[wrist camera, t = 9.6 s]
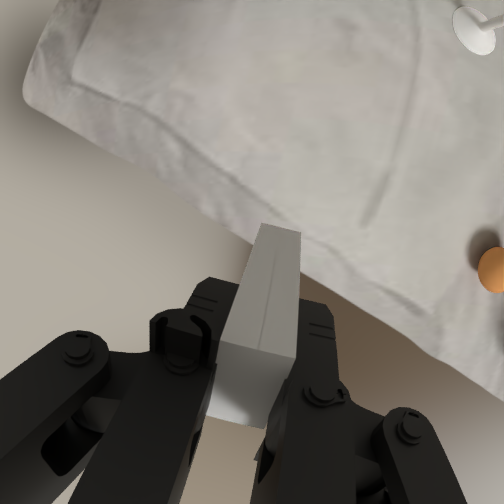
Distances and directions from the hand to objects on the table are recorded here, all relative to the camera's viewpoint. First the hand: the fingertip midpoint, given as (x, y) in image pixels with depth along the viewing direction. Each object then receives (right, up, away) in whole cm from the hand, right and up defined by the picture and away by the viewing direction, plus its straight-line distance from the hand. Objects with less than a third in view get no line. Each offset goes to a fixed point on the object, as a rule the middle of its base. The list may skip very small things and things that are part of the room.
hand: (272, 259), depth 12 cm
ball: (+31, -2, +20) cm, 37 cm away
